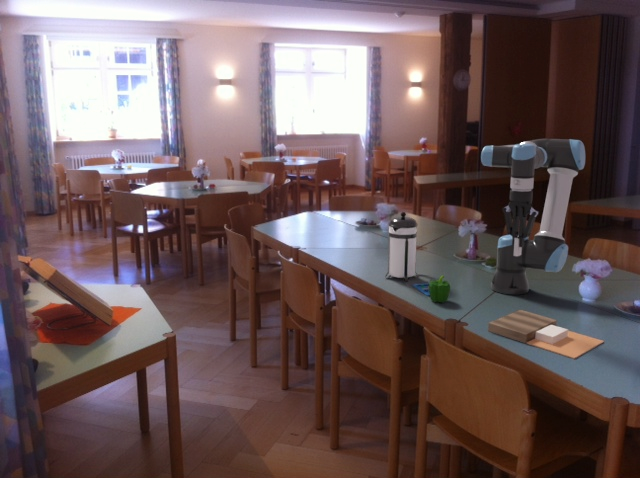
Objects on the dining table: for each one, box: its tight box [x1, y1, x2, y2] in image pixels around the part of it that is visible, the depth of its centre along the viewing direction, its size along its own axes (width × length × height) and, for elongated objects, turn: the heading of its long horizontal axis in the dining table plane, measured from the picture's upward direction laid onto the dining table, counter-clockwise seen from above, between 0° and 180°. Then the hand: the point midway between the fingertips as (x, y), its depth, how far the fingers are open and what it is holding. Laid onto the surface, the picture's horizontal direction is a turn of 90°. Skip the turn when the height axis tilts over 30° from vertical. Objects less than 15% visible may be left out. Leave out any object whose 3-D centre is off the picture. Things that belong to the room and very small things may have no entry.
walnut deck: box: [487, 309, 558, 344], centre depth 205 cm, size 20×14×3 cm
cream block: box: [535, 325, 569, 344], centre depth 197 cm, size 10×6×2 cm, turn 131°
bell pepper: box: [429, 275, 451, 303], centre depth 235 cm, size 8×8×10 cm
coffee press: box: [384, 211, 419, 283], centre depth 265 cm, size 17×16×30 cm
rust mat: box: [526, 330, 605, 360], centre depth 194 cm, size 20×16×1 cm
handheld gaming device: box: [412, 282, 430, 297], centre depth 250 cm, size 8×1×15 cm
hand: (517, 255), depth 211 cm, fingers closed
